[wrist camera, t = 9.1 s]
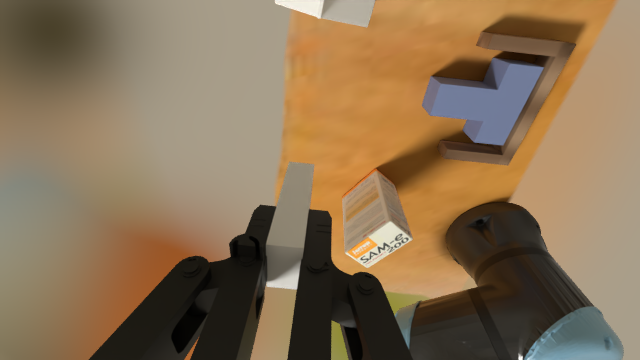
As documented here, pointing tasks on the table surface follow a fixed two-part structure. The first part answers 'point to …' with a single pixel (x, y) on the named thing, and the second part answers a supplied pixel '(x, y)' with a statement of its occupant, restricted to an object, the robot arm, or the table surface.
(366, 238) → the supplement box
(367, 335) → the robot arm
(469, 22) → the table surface
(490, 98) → the slate blue t block
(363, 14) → the milk carton
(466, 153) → the walnut dock
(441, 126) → the table surface
